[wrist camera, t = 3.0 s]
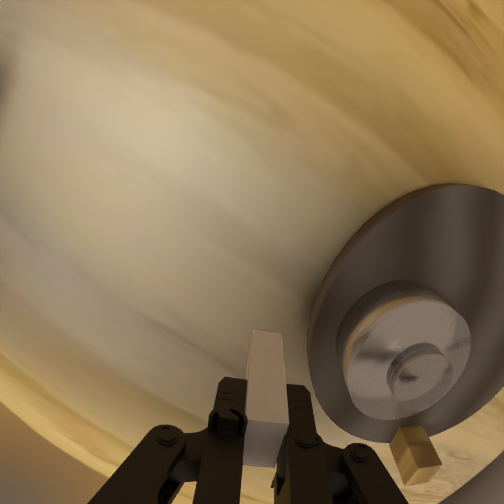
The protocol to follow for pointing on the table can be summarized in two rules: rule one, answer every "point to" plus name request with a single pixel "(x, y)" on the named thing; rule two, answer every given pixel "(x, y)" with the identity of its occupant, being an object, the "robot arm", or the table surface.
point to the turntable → (437, 280)
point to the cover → (401, 349)
